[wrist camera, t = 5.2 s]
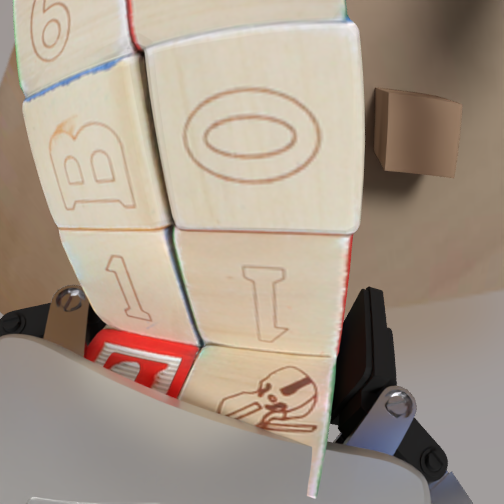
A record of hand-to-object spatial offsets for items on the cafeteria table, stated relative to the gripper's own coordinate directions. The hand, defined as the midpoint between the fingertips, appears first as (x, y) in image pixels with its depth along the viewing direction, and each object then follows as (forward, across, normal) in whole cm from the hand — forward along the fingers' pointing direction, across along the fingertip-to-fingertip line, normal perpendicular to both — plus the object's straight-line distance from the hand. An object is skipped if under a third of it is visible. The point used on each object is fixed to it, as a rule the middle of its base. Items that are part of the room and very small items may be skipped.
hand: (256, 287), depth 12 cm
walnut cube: (+15, -7, -6) cm, 18 cm away
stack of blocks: (+5, 0, 0) cm, 5 cm away
